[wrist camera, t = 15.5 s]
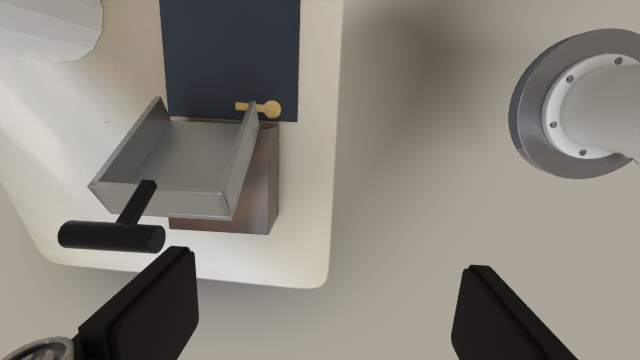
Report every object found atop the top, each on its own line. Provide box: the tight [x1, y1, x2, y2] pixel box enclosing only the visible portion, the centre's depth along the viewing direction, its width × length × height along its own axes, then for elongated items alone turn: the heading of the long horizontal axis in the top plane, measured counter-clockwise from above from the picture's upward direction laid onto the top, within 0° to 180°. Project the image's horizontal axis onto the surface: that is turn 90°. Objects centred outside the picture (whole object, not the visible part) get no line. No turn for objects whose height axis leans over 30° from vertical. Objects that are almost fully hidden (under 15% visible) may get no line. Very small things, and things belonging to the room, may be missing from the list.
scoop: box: [58, 97, 260, 254], centre depth 27 cm, size 19×11×6 cm
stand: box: [168, 120, 279, 235], centre depth 41 cm, size 14×13×7 cm
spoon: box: [236, 100, 281, 118], centre depth 41 cm, size 6×2×1 cm, turn 85°
